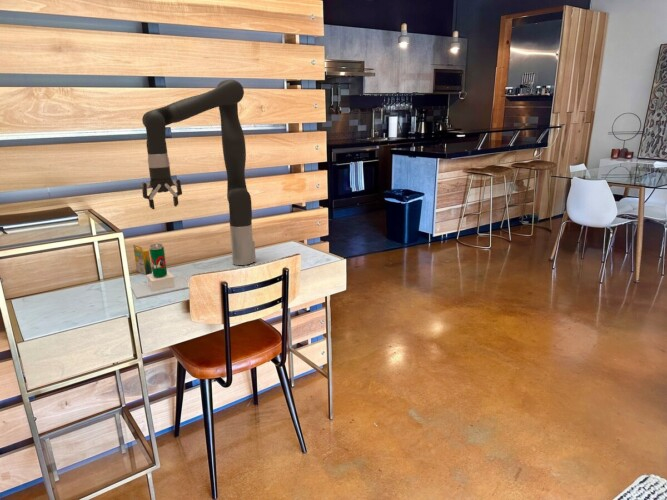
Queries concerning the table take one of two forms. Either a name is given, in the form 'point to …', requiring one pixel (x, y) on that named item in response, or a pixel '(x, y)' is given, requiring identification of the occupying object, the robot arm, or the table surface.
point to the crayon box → (142, 260)
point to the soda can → (158, 260)
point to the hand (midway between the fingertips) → (164, 207)
